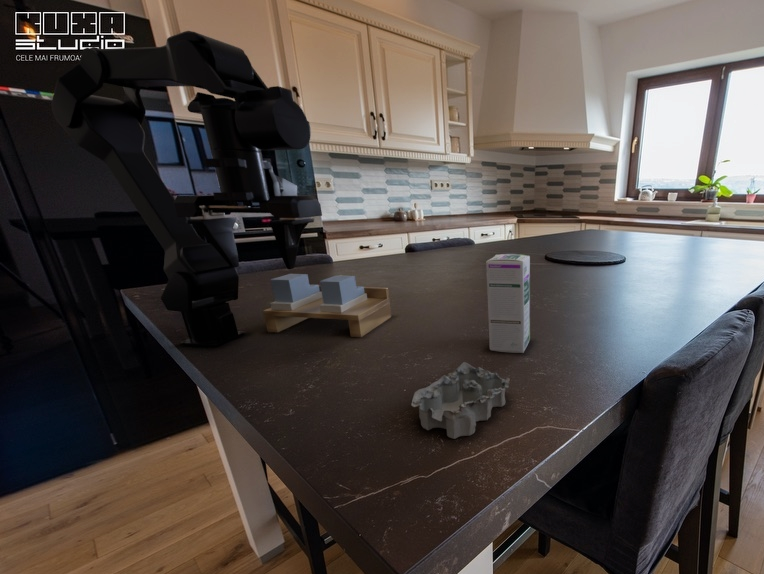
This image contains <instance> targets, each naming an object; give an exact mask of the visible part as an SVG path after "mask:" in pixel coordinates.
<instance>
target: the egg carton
mask: <svg viewBox="0 0 764 574" xmlns="http://www.w3.org/2000/svg"><path fill="white" fill-rule="evenodd" d="M510 381H511V379H510V377H507V376H506V377H505V378H502V377H500V375H499V374H498V373H497V372H491V371H489V370H488V369H483V368H482V367H480V366H478V367H474V366H473V365H471V364H470V363H468V362H466V361H464V362H462V363H461V364H460V365H459V366H458V367H457V368H456V369H454V371H452V372H448V374H447V375H445V374H443V375H442V376H441V377H439V379H438V380H436V381H433V382H432V383H431V384H430V385H429V386H427V387H423V388H419V389H418V390H416V391H415V392H414V393H413V397H412V400H411V406H412V407H413V408H416V407H418V416H419V420H420V425H421V427H422V429H424V430H426V431H430V430H432V429H437V428H438V429H439V428H440V429H444V430H446V436H447V438H450V439H453V440H454V439H457V438H459V437H466V436H467V437H470V436H471V435H473V434H474V433H475V432H476V427H477V422H479V421H488V420H489V418H491V417H492V409H493V408H496V407H499V408H502V407H503V406H505V405H506V396H505V393H506V388H509V387H510V386H509V384H510V383H509V382H510Z"/></svg>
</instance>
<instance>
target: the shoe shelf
mask: <svg viewBox="0 0 764 574" xmlns="http://www.w3.org/2000/svg"><path fill="white" fill-rule="evenodd" d="M318 285H319V290H320V292H322V291H321V285H320V284H318ZM363 287H364V293H367V300H365V301H363V302H361V303H359V304H357V305H355V306H354V307H352V308H350V309H348V310H346V311H344V312H342V313H336V312H320V307H319V305H321V304H323V303H324V302H323V298H320V299H318V300H315V301H313V302H311V303H308V304H306V305H304V306H301V307H299V308H296V309H294V310H273V309H271V307H269V308H267V309H264V310H262V313H263V317H264V321H265V325H266V330H267V332H268V333H280V332H282V331H284V330H286V329H289V328H290V327H292V326H295V325H297V324H299V323H301V322H303V321H306V320H307V319H326V320H342V321H343V320H344V321H348V327H349V328H348V329H349V334H350V337H351V338H362V337H364V336H365V335H367V334H368V333H370V332H371V331H373V330H374V329H376V328H377V327H379V326H380V325H382V324H383V323H385V322H386V321H388V320H389V319H391V318H392V312H391V301H390V294H389V293H390V292H389V287H379V286H378V287H377V286H363Z"/></svg>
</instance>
